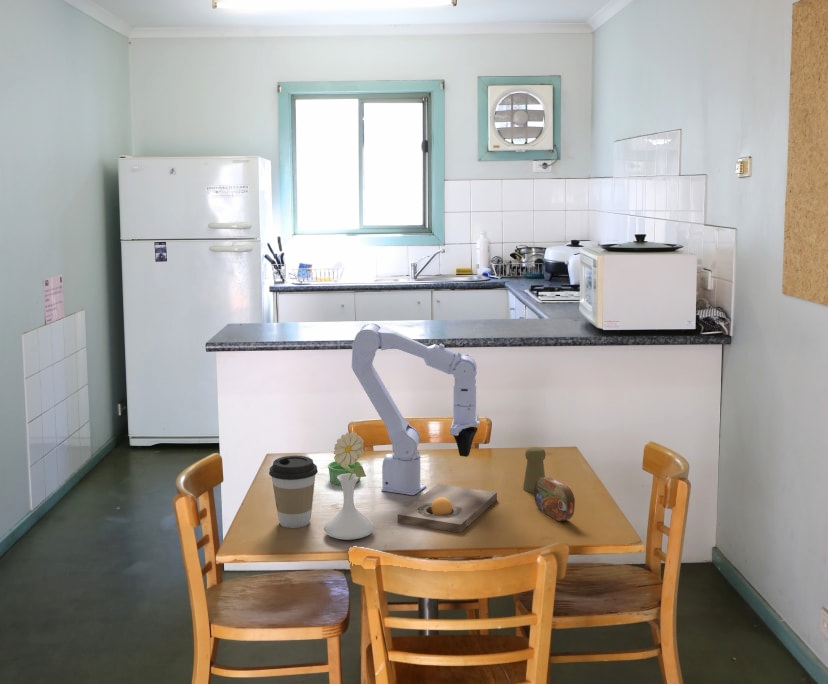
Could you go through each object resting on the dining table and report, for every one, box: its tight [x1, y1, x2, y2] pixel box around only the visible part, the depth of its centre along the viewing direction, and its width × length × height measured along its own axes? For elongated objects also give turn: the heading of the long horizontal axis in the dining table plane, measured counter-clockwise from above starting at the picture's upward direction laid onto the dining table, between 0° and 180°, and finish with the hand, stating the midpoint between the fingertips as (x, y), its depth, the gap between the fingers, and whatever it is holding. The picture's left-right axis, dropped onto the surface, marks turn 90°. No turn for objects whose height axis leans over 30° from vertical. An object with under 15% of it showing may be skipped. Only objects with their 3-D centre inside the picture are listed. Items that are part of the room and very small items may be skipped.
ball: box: [431, 497, 452, 515], centre depth 236 cm, size 5×5×5 cm
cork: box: [522, 446, 546, 494], centre depth 256 cm, size 6×6×11 cm
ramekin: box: [327, 460, 363, 486], centre depth 264 cm, size 9×9×4 cm
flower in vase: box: [323, 431, 375, 541], centre depth 223 cm, size 13×11×25 cm
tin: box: [533, 476, 576, 522], centre depth 238 cm, size 15×3×8 cm, turn 23°
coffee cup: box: [268, 455, 319, 529], centre depth 233 cm, size 11×11×15 cm
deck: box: [397, 483, 498, 534], centre depth 241 cm, size 16×24×2 cm, turn 155°
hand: (464, 455), depth 254 cm, fingers closed
